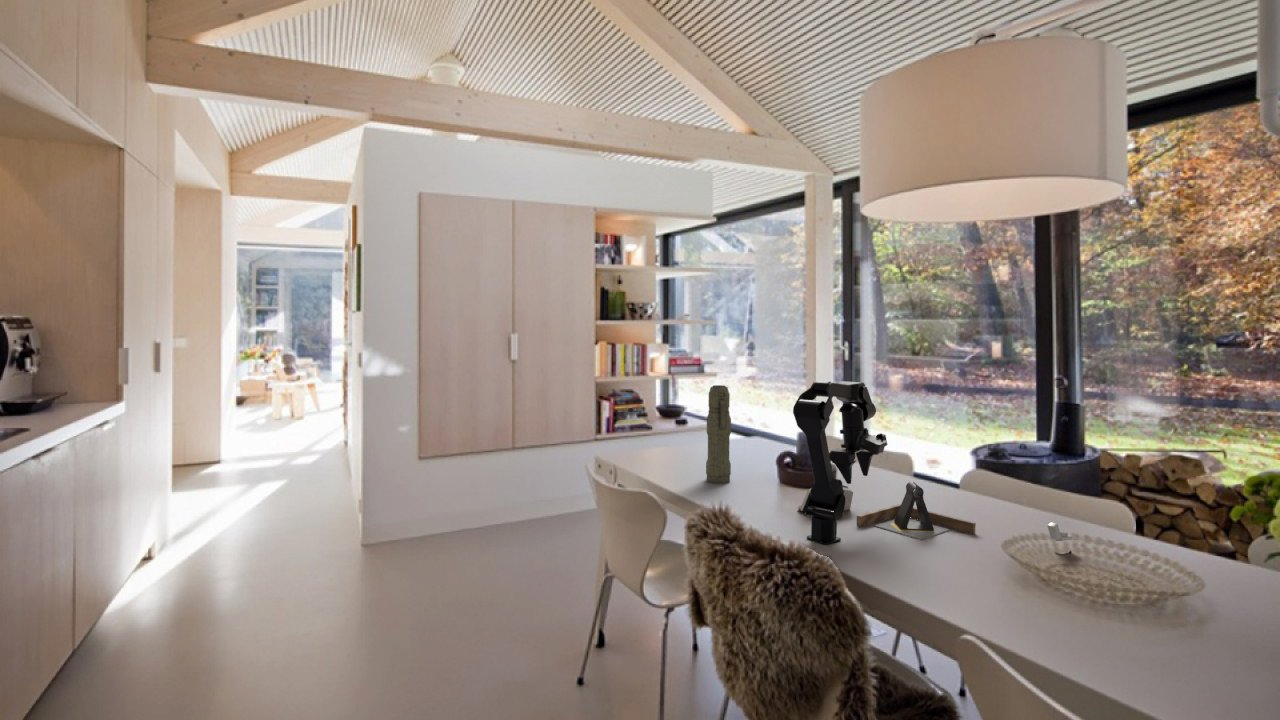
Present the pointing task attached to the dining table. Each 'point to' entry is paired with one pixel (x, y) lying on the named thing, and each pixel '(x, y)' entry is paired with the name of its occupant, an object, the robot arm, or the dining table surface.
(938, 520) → the corner walls
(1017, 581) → the dining table surface
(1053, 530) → the grey l-shaped piece
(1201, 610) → the dining table surface
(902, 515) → the dark grey a-frame stand
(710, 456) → the green stone statue
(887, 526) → the mat
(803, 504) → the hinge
